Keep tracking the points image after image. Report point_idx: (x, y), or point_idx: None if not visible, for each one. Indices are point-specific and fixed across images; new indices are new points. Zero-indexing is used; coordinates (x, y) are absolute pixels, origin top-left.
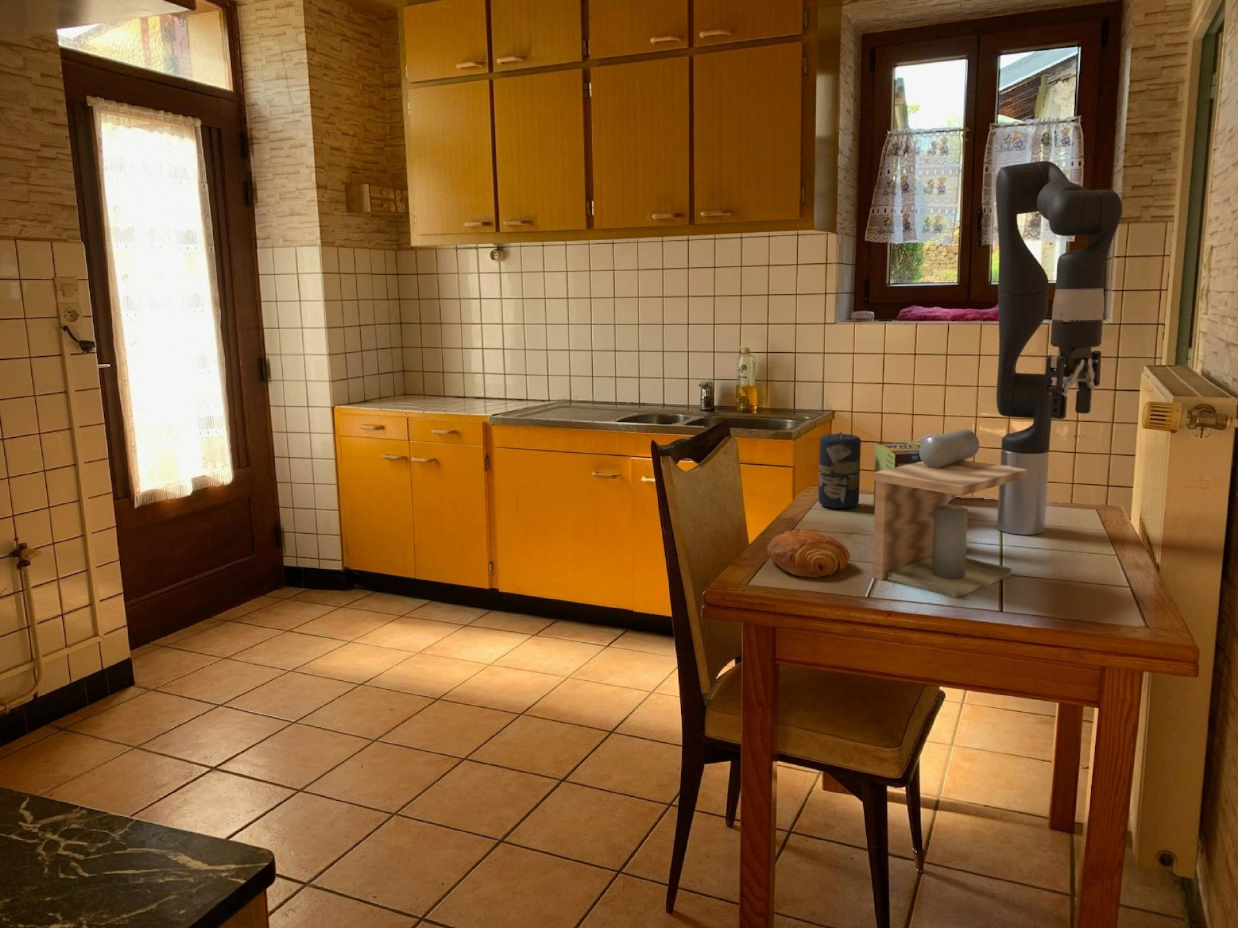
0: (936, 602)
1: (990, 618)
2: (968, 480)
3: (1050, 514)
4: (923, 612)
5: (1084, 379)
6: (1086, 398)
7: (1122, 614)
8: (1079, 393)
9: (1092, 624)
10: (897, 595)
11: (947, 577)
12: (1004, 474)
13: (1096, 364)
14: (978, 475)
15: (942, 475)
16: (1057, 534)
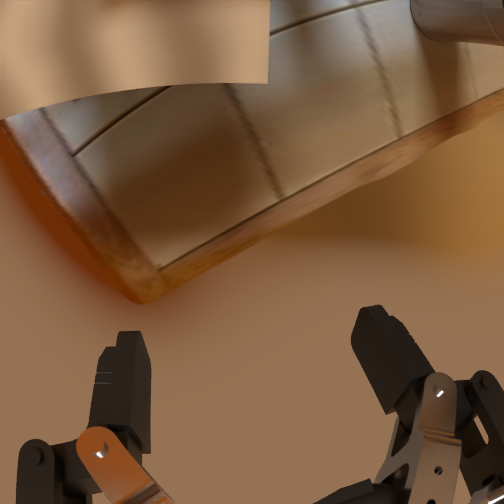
0: None
1: (46, 165)
2: (11, 86)
3: None
4: None
5: (387, 471)
6: (376, 384)
7: (175, 239)
8: (398, 380)
9: (120, 237)
10: None
11: None
12: (143, 80)
13: (473, 491)
14: (79, 49)
15: (22, 8)
16: (441, 57)
